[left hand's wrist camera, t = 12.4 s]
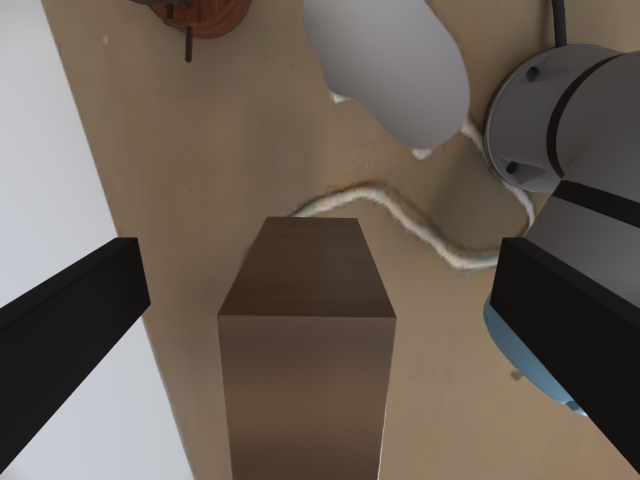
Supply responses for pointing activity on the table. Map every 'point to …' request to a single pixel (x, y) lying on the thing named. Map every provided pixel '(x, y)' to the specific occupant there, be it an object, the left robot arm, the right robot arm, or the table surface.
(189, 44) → the music box
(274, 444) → the box
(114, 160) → the table surface
